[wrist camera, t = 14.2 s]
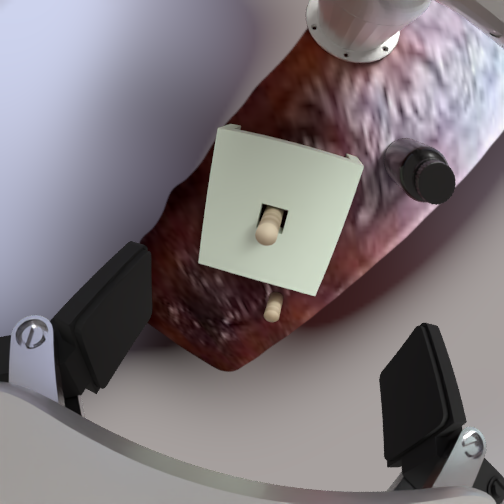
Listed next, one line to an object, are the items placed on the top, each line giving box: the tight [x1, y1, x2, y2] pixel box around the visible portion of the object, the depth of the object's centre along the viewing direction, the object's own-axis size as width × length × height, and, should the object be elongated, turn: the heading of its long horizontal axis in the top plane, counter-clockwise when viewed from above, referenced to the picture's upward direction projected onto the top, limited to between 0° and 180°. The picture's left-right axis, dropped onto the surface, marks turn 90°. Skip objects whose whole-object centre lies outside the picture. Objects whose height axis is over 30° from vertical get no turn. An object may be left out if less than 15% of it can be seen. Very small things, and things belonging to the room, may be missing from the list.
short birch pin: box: [264, 292, 283, 322], centre depth 49 cm, size 2×2×5 cm
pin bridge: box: [198, 124, 364, 296], centre depth 40 cm, size 20×18×6 cm
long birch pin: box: [255, 205, 284, 246], centre depth 38 cm, size 2×2×11 cm
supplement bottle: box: [384, 138, 455, 205], centre depth 30 cm, size 7×7×12 cm
